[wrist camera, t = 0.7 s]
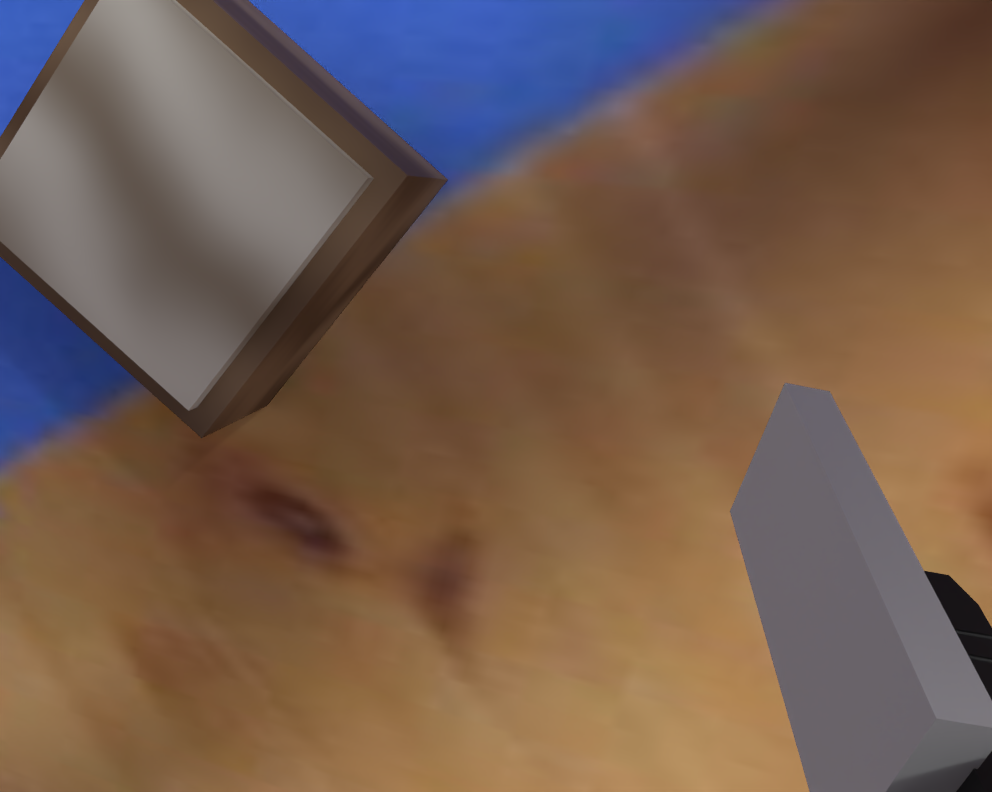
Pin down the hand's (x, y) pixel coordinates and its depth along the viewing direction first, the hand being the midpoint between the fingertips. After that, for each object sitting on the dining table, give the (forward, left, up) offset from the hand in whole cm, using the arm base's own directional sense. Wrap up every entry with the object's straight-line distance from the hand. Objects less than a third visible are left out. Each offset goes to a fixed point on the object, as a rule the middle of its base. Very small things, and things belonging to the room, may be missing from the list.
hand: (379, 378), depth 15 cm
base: (+6, -11, -20) cm, 24 cm away
